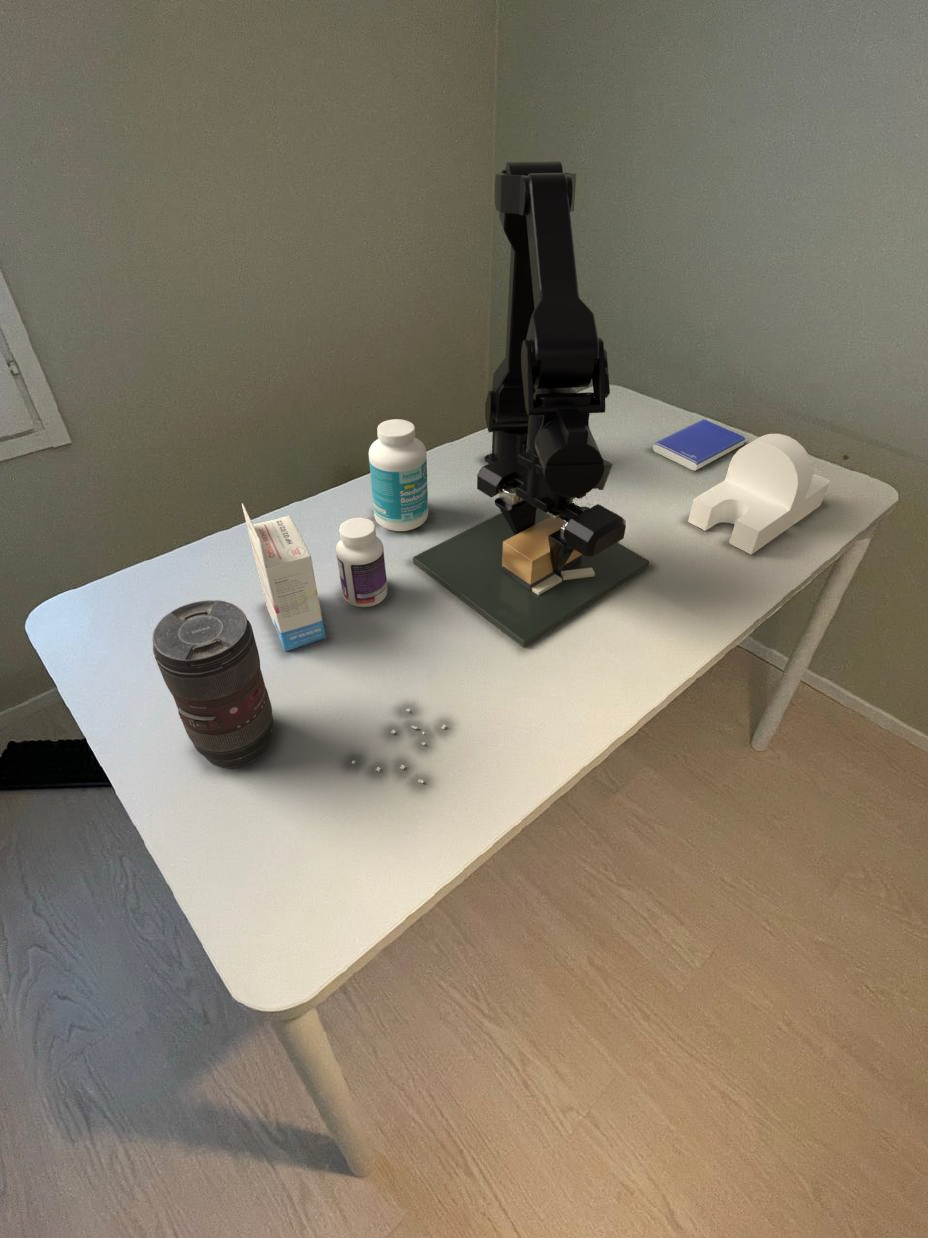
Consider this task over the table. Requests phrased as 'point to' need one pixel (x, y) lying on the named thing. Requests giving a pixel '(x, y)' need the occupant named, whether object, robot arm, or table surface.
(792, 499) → the block with arch cutout
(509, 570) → the eraser
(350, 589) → the pill bottle
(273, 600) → the ink box
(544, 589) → the chalk stroke
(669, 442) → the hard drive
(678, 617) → the table surface
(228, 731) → the camera lens
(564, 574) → the chalk stroke
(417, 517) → the pill bottle
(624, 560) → the chalkboard
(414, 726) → the crumbs
